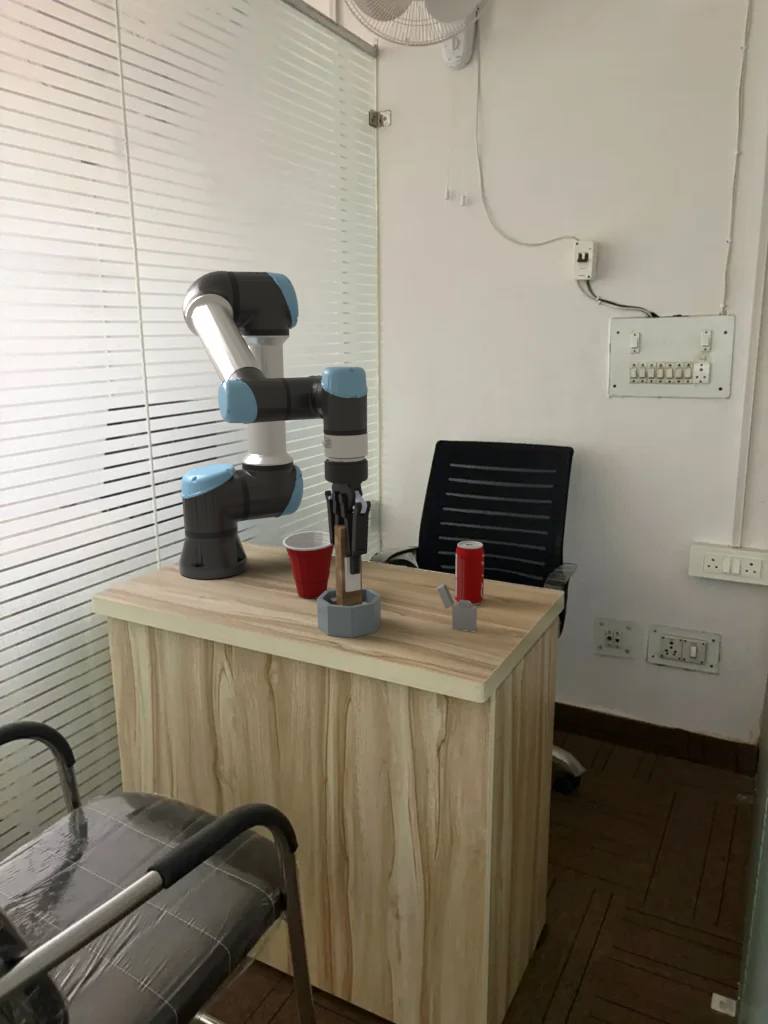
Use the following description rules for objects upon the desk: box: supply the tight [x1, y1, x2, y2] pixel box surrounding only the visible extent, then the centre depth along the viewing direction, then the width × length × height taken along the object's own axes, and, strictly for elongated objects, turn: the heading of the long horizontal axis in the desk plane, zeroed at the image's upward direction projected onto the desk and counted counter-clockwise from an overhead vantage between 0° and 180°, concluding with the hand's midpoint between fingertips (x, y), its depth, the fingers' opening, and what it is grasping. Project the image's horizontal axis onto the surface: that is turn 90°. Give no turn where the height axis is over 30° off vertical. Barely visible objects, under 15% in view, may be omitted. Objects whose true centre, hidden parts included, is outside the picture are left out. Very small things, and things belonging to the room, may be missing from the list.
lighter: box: [436, 582, 478, 632], centre depth 132 cm, size 7×2×8 cm, turn 68°
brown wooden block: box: [334, 524, 363, 606], centre depth 132 cm, size 2×4×16 cm, turn 120°
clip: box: [329, 597, 366, 606], centre depth 134 cm, size 6×5×4 cm
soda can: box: [454, 540, 485, 606], centre depth 145 cm, size 6×6×12 cm
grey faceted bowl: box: [316, 587, 382, 639], centre depth 134 cm, size 11×11×6 cm
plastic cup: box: [282, 530, 335, 599], centre depth 150 cm, size 11×11×12 cm
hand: (348, 587), depth 133 cm, fingers closed on brown wooden block, 2 cm apart
